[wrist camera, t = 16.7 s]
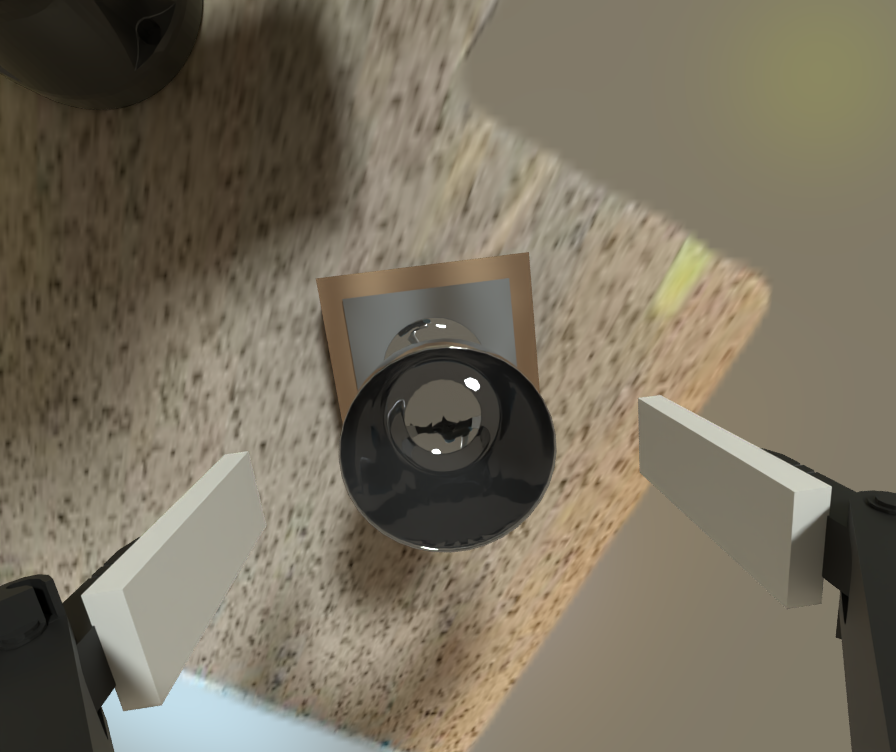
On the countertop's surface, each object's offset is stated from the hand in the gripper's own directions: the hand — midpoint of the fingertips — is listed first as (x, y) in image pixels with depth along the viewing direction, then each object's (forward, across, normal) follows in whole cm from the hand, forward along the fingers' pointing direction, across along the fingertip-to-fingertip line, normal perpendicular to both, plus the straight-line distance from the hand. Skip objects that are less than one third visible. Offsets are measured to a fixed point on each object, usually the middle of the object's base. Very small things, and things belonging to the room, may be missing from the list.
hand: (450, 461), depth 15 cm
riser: (+20, 0, -1) cm, 21 cm away
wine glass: (+16, 0, 0) cm, 16 cm away
